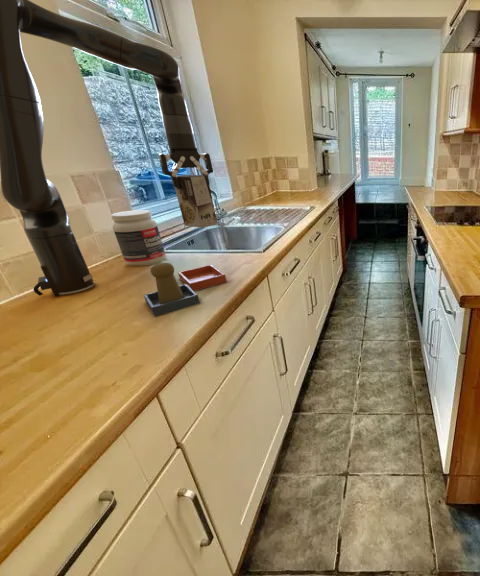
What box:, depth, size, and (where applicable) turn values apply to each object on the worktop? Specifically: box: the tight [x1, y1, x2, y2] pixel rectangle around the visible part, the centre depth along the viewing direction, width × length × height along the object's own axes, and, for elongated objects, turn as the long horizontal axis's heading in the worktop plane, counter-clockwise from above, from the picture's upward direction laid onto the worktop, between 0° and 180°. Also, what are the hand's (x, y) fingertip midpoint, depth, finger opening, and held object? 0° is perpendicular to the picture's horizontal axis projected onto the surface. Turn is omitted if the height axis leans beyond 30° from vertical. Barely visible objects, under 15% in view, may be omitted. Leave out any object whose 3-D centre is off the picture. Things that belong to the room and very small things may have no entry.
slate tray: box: [143, 283, 201, 317], centre depth 88 cm, size 11×11×3 cm
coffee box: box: [174, 174, 218, 229], centre depth 105 cm, size 9×6×16 cm
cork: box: [150, 261, 185, 305], centre depth 86 cm, size 6×6×11 cm
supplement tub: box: [110, 209, 167, 267], centre depth 116 cm, size 13×13×18 cm
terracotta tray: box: [177, 264, 228, 292], centre depth 102 cm, size 10×13×3 cm
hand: (192, 188), depth 104 cm, fingers closed on coffee box, 8 cm apart
